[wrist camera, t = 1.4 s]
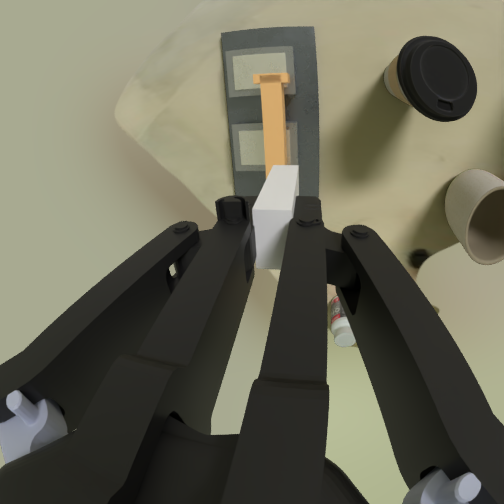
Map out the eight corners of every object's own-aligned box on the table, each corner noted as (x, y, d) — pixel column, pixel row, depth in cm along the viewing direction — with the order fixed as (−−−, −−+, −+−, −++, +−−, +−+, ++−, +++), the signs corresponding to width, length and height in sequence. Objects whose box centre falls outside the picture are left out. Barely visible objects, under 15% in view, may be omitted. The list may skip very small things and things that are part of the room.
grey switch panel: (313, 28, 28) (313, 20, 24) (317, 217, 44) (317, 231, 40) (223, 34, 31) (212, 28, 27) (239, 214, 47) (231, 227, 43)
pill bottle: (333, 291, 51) (333, 329, 43) (360, 293, 50) (364, 331, 42) (328, 311, 54) (328, 348, 46) (354, 313, 53) (356, 350, 45)
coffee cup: (388, 118, 33) (425, 135, 21) (359, 60, 29) (385, 44, 17) (439, 101, 29) (493, 113, 17) (413, 44, 25) (459, 27, 13)
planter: (424, 195, 37) (450, 226, 28) (472, 147, 31) (509, 167, 22) (458, 242, 40) (482, 279, 31) (501, 200, 33) (533, 229, 24)
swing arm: (293, 231, 41) (291, 241, 38) (266, 229, 41) (263, 239, 39) (289, 74, 29) (287, 72, 26) (257, 75, 30) (252, 74, 27)
